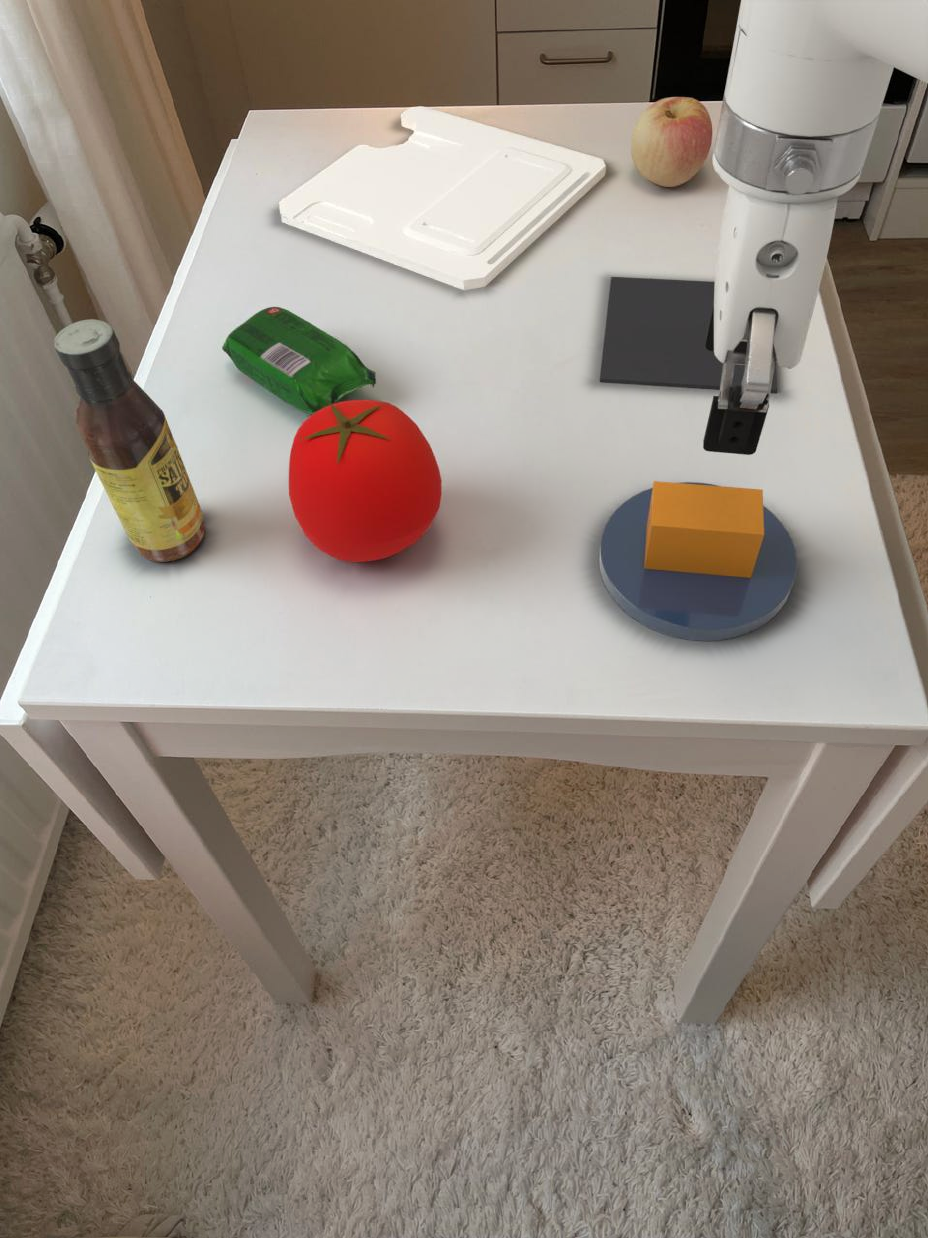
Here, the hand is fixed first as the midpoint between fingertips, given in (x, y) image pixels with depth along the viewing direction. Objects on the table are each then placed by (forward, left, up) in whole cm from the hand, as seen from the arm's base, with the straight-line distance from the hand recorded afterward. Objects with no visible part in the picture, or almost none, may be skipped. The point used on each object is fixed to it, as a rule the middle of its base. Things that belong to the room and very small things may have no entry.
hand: (728, 397), depth 62 cm
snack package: (+37, -18, -17) cm, 44 cm away
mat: (+1, -29, -17) cm, 33 cm away
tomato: (+26, 0, -17) cm, 31 cm away
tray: (+29, -52, -17) cm, 61 cm away
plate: (0, 0, -17) cm, 17 cm away
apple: (+4, -57, -17) cm, 59 cm away
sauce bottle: (+43, +2, -17) cm, 46 cm away
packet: (0, 0, -15) cm, 15 cm away
